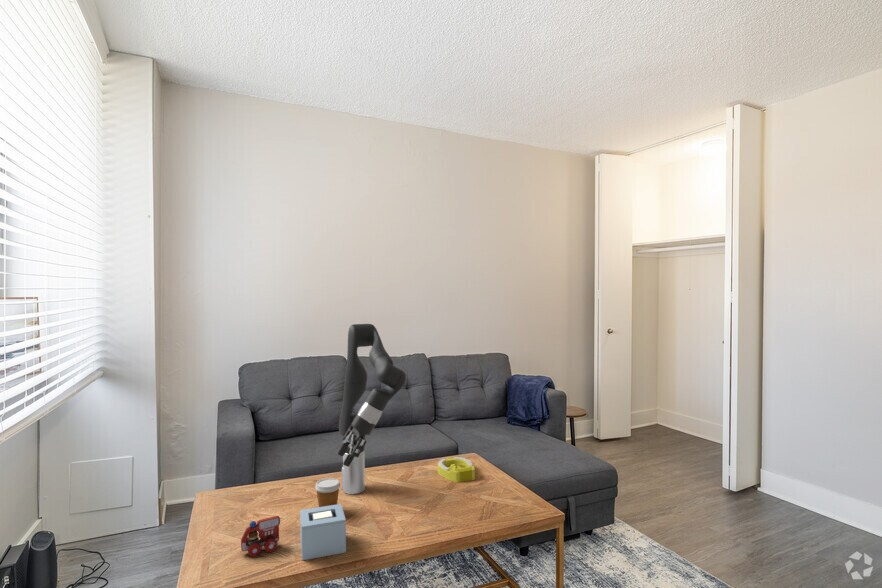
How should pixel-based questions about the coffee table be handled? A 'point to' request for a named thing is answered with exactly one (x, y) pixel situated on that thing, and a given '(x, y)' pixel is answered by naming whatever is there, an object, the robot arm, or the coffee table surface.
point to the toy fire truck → (261, 536)
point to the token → (322, 515)
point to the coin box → (322, 532)
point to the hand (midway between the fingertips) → (342, 460)
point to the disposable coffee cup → (327, 491)
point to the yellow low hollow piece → (456, 469)
